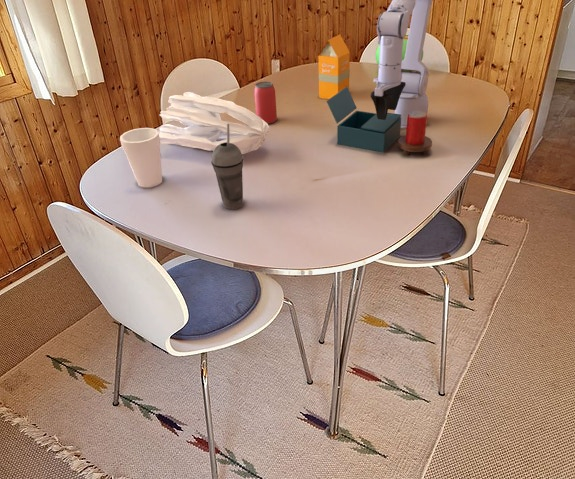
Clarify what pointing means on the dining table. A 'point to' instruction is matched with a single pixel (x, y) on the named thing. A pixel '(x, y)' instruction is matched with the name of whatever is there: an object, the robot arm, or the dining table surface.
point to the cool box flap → (341, 104)
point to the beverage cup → (229, 173)
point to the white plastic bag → (210, 123)
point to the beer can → (265, 101)
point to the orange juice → (333, 67)
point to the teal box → (369, 131)
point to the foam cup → (143, 155)
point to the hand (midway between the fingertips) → (386, 114)
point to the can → (416, 127)
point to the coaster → (414, 148)
